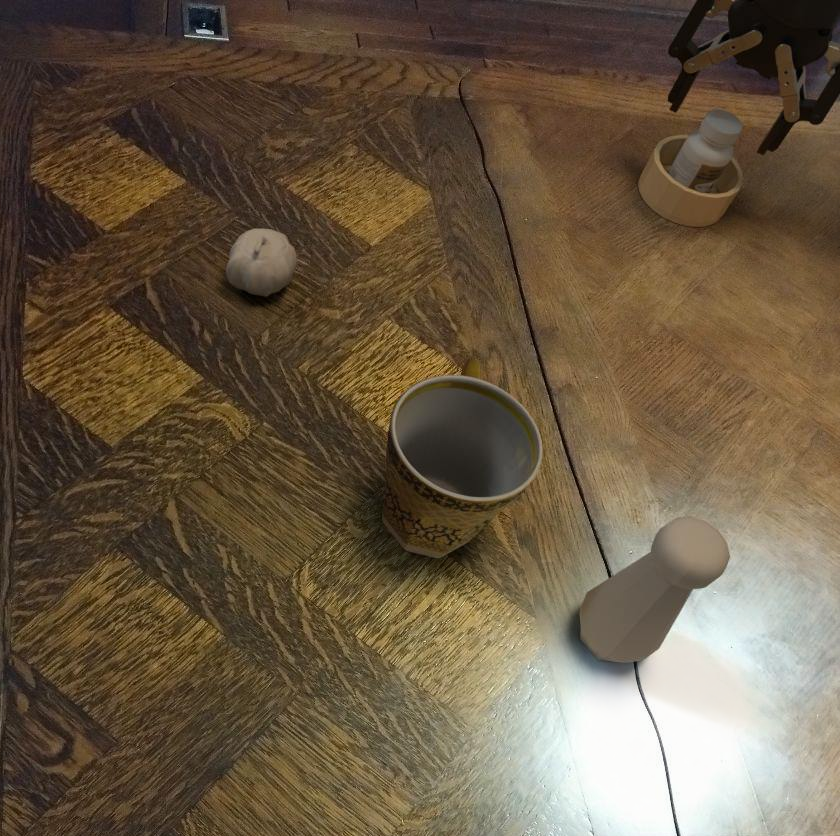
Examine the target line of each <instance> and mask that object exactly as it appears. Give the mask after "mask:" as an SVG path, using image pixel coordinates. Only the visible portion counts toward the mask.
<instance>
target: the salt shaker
mask: <svg viewBox="0 0 840 836" xmlns="http://www.w3.org/2000/svg"><path fill="white" fill-rule="evenodd" d="M730 559H731V555H730V550H729V545H728V542H727V541H726V539H725V538H724V537H723V535H722V533H721V532H720V530H718V529H717V528H716V527H714V526H713V525H712V524H711V523H709V522H708V521H706V520H703V519H700V518H698V517H694V516H691V515H689V516H681V517H680V516H679V517H676V518H674V519H673V520H670V521H669V522H668V523H665V524H664V525H663V526H662V527H660V528H659V529H658V531H656V534H655V535H654V538H653V541H652V543H651V548H650V551H649V552H648V553H647V554H645V555H643V556H642V557H640V558H638V559H637V560H635V561H634V562H633V563H631V564H629V565H627V566H626V567H625V568H623V569H622V570H620V571H618V572H616V573H615V574H614V575H611V576H610V577H609V578H607V579H605V580H604V581H602V582H601V583H599V584H598V585H597V586H595V587H593V588H591V589H590V590H588V591H587V592H586V593H585V596H584V598H583V601H582V604H581V606H580V609H579V611H578V612H579V621H580V638H579V639H580V641H581V642H582V643H583V645H584V646H586V648H587V649H588V650H589V651H590V652H591V654H592V655H594V657H595V658H596V659H597V660H598V661H605V662H614V663H615V662H616V663H622V664H623V663H624V664H627V663H634V662H642V661H644V660H646V659H647V658H649V657H650V656H652V655H653V654H655V652H656V651H658V650H659V649H660V648H661V647H662V644H663V643H664V641H665V640H666V637H667V635H668V634H669V632H670V630H671V629H672V627H673V625H674V623H675V622H676V620H677V619H678V617H679V616H680V615H679V614H680V613H681V612H682V609H683V608H684V606H685V605H686V603H687V601H688V600H689V598H690V596H691V594H692V592H693V590H699V589H700V590H701V589H705V588H708V586H709V585H711V584H713V582H715V581H716V580H718V579H719V578H721V576H723V574H724V572H725V571H726V570H727V568H728V564H729V561H730Z"/></svg>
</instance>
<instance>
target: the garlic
mask: <svg viewBox="0 0 840 836" xmlns="http://www.w3.org/2000/svg"><path fill="white" fill-rule="evenodd" d="M296 266H297V252H296V249H295V247H294V246H292V244H290V242H289V239H288V236H287V235H286V234H284V233H282V232H279V231H276V230H274V229H270V228H256V227H255V228H252V229H249V230H246V231H245V232H243V233H242V234H240V235H239V236H238V237H237V239H236V240H235V242H234V244H232V245H231V248H230V251H229V260H228V262H227V263H226V266H225V267H226V268H225V275H226V278H227V280H228V282H229V283H230V285H232V286H233V287H234V288H236V289H238V290H241V291H245V292H247V293H248V294H250V295H253V296H254V295H255V296H260V297H265V298H266V297H269V296H270V295H271V294H275V293H278V292H280V291H281V290H283V288H285V287H287V286H289V285H290V284H291V281H292V279H293V278H292V277H293V275H294V272H295V271H296Z"/></svg>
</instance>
